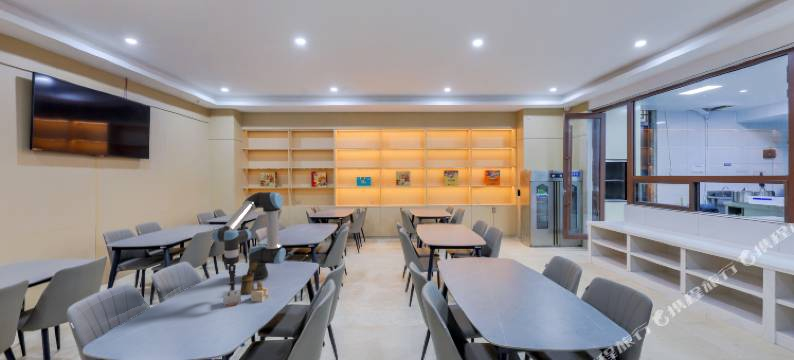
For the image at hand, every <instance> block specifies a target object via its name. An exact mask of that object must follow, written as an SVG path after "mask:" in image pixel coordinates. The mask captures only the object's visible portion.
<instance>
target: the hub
mask: <svg viewBox="0 0 794 360" xmlns="http://www.w3.org/2000/svg"><path fill="white" fill-rule="evenodd" d="M228 292H229V295H230V289H229V290H228ZM239 303H240V302H235V303H230V304H224V306H225V307H232V306H233V307H234V306H237V305H238V304H239Z"/></svg>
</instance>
